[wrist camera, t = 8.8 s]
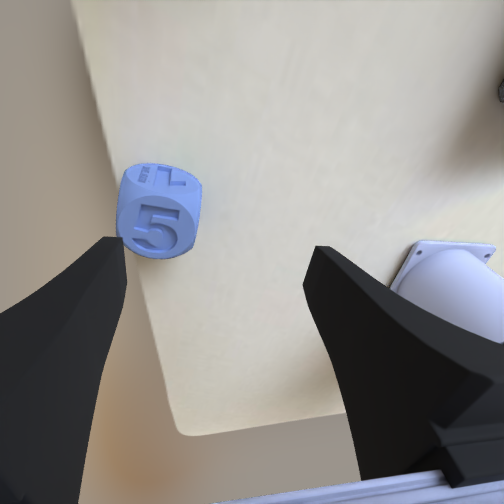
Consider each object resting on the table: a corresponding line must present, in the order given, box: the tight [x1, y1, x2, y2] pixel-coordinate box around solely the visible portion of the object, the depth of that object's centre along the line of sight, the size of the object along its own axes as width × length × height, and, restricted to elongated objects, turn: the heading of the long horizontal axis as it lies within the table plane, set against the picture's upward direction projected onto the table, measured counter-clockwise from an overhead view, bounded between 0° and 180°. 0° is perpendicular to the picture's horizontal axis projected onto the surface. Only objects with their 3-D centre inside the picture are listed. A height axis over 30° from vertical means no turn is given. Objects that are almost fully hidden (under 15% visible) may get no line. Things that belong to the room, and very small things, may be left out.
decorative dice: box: [116, 164, 202, 259], centre depth 17 cm, size 4×4×4 cm
